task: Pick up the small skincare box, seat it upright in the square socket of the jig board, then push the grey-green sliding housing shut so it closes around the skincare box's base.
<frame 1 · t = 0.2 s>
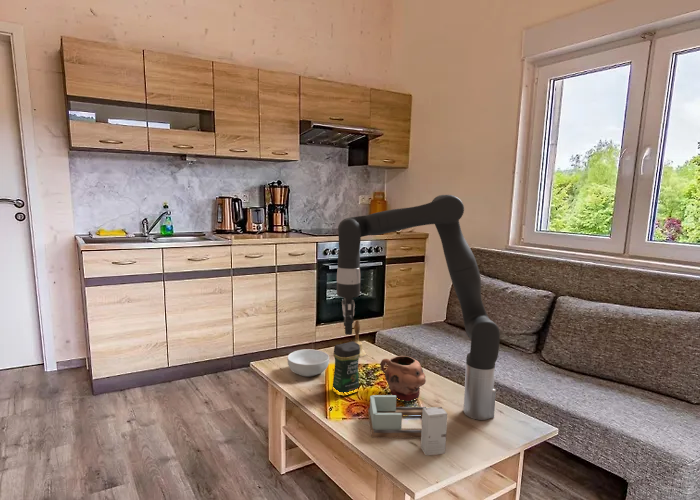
hand: (347, 330, 139), 29 cm above the table, fingers open, 8 cm apart
hand bell: (356, 354, 197), on the table
coffee jar: (346, 392, 159), on the table
skincare box: (432, 451, 123), on the table
housing: (385, 412, 136), point 4 cm above the table, slide at 0.0 cm
jig board: (401, 424, 137), on the table
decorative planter: (400, 396, 157), on the table
cereal bowl: (308, 373, 175), on the table
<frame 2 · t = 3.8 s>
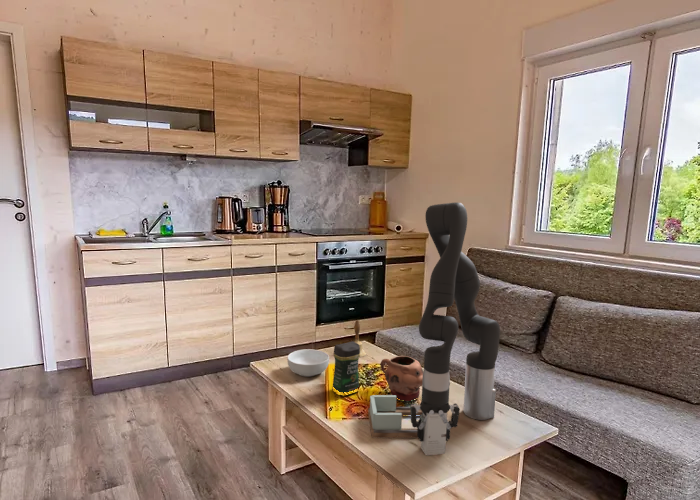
hand: (433, 439, 123), 3 cm above the table, fingers closed on skincare box, 6 cm apart
skincare box: (432, 450, 123), on the table, touching gripper
everything else where it was.
when the fingers open (4 cm above the table, at t = 10.4 s): skincare box stays where it is, resting in jig board.
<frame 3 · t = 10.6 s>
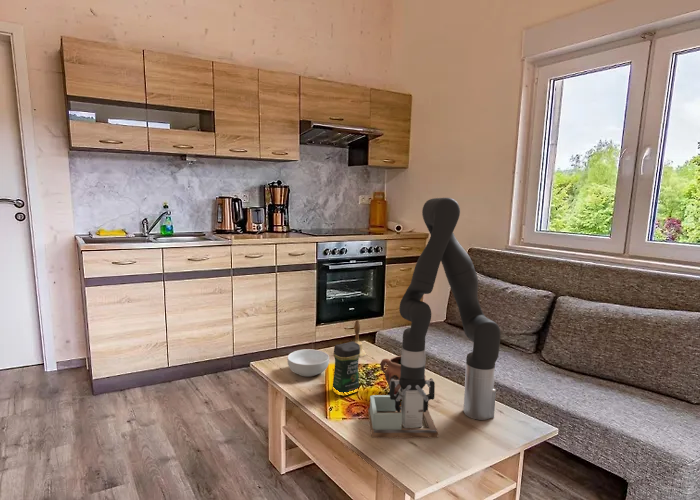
hand: (411, 411, 136), 5 cm above the table, fingers open, 8 cm apart
skincare box: (411, 424, 137), resting in jig board
everything else where it was.
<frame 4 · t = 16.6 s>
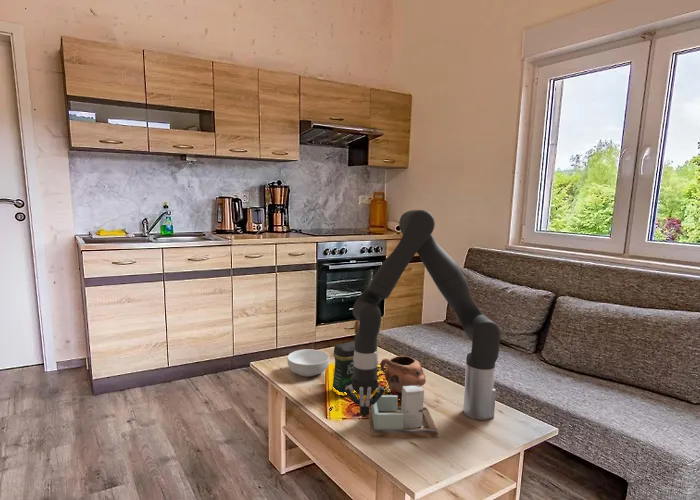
hand: (364, 415, 136), 3 cm above the table, fingers closed
housing: (386, 412, 136), point 4 cm above the table, slide at 0.5 cm, touching gripper
everything else where it was.
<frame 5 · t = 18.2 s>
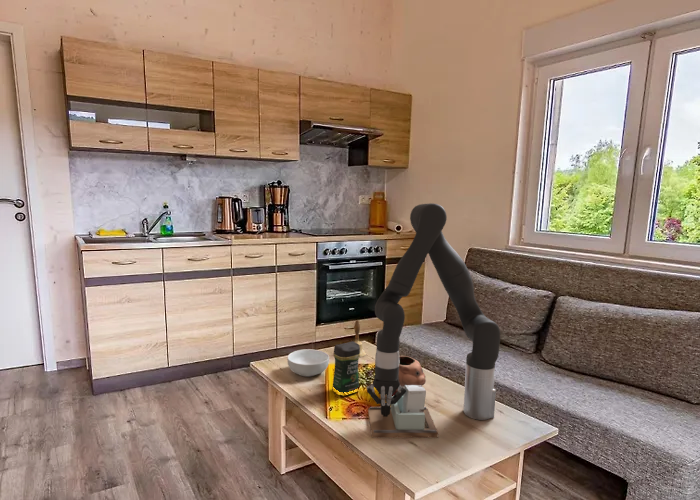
hand: (385, 415, 136), 3 cm above the table, fingers closed
skincare box: (411, 424, 137), resting in jig board, touching hand
housing: (407, 412, 136), point 4 cm above the table, slide at 7.0 cm, touching gripper
everything else where it was.
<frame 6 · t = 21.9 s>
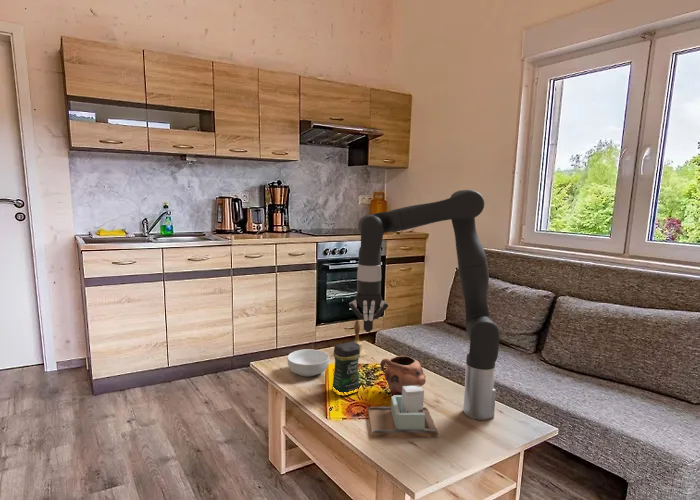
hand: (367, 331, 138), 29 cm above the table, fingers closed
skincare box: (411, 425, 137), resting in jig board
housing: (407, 412, 136), point 4 cm above the table, slide at 7.0 cm
everything else where it was.
at the end: skincare box inside the target area on the jig board (0.3 cm from its centre), point 0.0 cm above the jig board's base; skincare box tilted 0°; housing slide at 7.0 cm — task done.
